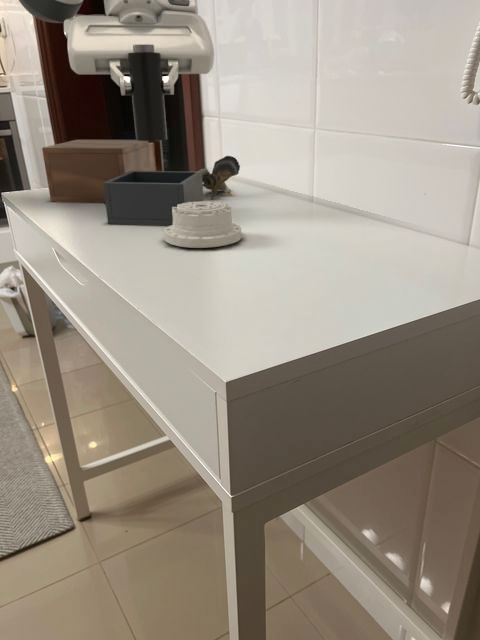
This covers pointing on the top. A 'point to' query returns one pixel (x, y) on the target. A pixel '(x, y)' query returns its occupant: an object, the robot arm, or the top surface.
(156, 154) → the drawer
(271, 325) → the top surface
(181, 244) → the mechanical component
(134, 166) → the cabinet
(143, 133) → the spray can
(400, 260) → the top surface
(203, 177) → the toy chipmunk
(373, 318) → the top surface
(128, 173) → the bin
